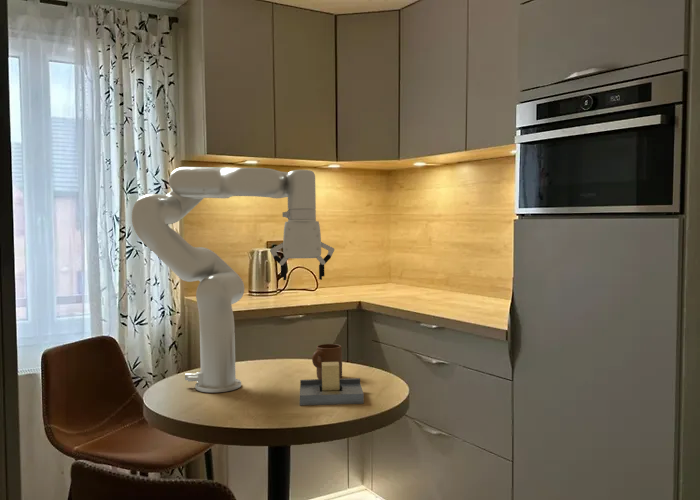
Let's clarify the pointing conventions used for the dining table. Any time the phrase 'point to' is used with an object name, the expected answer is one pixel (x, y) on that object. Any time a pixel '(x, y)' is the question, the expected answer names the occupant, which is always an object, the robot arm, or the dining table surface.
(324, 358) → the mug
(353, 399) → the jig
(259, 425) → the dining table surface
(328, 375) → the tan cardboard box
